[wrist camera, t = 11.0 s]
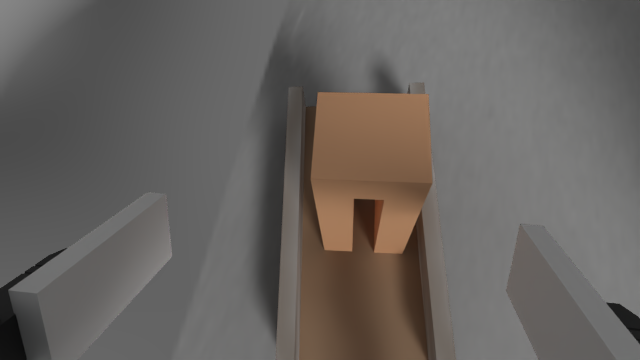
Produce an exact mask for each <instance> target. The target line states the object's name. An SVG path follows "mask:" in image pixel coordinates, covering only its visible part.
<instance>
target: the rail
mask: <svg viewBox="0 0 640 360" xmlns="http://www.w3.org/2000/svg"><path fill="white" fill-rule="evenodd" d="M407 94H425V88H424V83H409V88H408V92H407ZM316 108H317V106H315V107H306V105H305V99H304V92H303V87H289V88H288V109H287V130H286V151H285V172H284V193H283V214H282V235H281V257H280V278H279V299H278V320H277V341H276V360H456V356H455V347H454V339H453V330H452V321H451V313H450V304H449V295H448V287H447V278H446V269H445V261H444V252H443V243H442V235H441V226H440V218H439V209H438V200H437V192H436V183H435V174H434V166H433V157H432V148H431V160H432V182H433V183H432V186H431V188H430V190H429V193H428V195H427V197H426V200H425V202H424V204H423V207H422V209H421V211H420V214H419V216H418V218H417V221H416V223H415V225H414V228H413V230H412V232H411V235H410V237H409V239H408V242H407V244H406V246H405V249H404V251H403V253H402V254H394V253H374V219H375V200H374V199H354V216H353V243H352V251H333V250H324V245H323V240H322V235H321V230H320V225H319V220H318V214H317V209H316V204H315V199H314V194H313V189H312V184H311V168H312V156H313V144H314V132H315V120H316Z"/></svg>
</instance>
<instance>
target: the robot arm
mask: <svg viewBox="0 0 640 360" xmlns="http://www.w3.org/2000/svg"><path fill="white" fill-rule="evenodd" d="M171 257H172V251H171V242H170V230H169V220H168V209H167V199H166V194H162V193H150V192H147V193H146V194H144V195H143V196H141V197H140V198H138V199H137V200H136V201H134V202H133V203H132V204H130V205H129V206H127V207H126V208H125V209H123V210H121V211H120V212H119V213H117V214H116V215H114V216H113V217H111V218H110V219H109V220H107V221H106V222H104V223H103V224H102V225H100V226H99V227H97V228H96V229H95V230H93V231H92V232H90V233H89V234H87V235H86V236H84V237H83V238H82V239H80V240H79V241H77V242H76V243H74V244H73V245H72V246H70V247H69V248H65V249H63V250H61V251H58V252H56V253H53V254H51V255H49V256H47V257H46V258H44V259H43V260H42V261H40V262H38V263H37V264H36V265H35V266H33V267H31V268H30V269H28V270H27V271H25V273H24V274H21V275H20V276H18V277H16V278H15V279H14V280H12V281H11V282H9V283H8V284H6V285H5V286H3V287H2V288H0V360H78V359H79V357H80V356H81V355H82V354H83V353H84V352H85V351H86V350H87V349H88V348H89V347H90V346H91V344H92V343H93V342H94V341H95V340H96V339H97V338H98V337H99V336H100V335H101V333H102V332H103V331H104V330H105V329H106V328H107V327H108V326H109V325H110V324H111V323H112V321H113V320H114V319H115V318H116V317H117V316H118V315H119V314H120V313H121V312H122V311H123V309H124V308H125V307H126V306H127V305H128V304H129V303H130V302H131V301H132V300H133V299H134V298H135V296H136V295H137V294H138V293H139V292H140V291H141V290H142V289H143V288H144V287H145V285H146V284H147V283H148V282H149V281H150V280H151V279H152V278H153V277H154V276H155V275H156V273H157V272H158V271H159V270H160V269H161V268H162V267H163V266H164V265H165V264H166V262H167V261H168V260H169V259H170V258H171ZM506 292H507V294H508V296H509V298H510V300H511V302H512V304H513V306H514V309H515V311H516V313H517V315H518V317H519V319H520V321H521V323H522V325H523V328H524V330H525V332H526V334H527V336H528V338H529V340H530V342H531V344H532V347H533V349H534V351H535V353H536V355H537V357H538V359H539V360H640V318H639V317H638V316H636V315H635V314H633V313H632V312H630V311H629V310H628V309H626V308H625V307H623V306H622V305H620V304H615V303H606V302H605V301H604V300H603V299H602V297H601V296H600V295H599V294H598V292H597V291H596V290H595V289H594V288H593V286H592V285H591V284H590V283H589V281H588V280H587V279H586V278H585V277H584V275H583V274H582V273H581V272H580V270H579V269H578V268H577V267H576V265H575V264H574V263H573V262H572V261H571V259H570V258H569V257H568V256H567V254H566V253H565V252H564V251H563V250H562V248H561V247H560V246H559V245H558V243H557V242H556V241H555V240H554V238H553V237H552V236H551V235H550V234H549V232H548V231H547V230H546V229H545V227H544V226H539V225H527V224H520V228H519V232H518V237H517V242H516V246H515V251H514V256H513V261H512V265H511V270H510V275H509V279H508V284H507V289H506Z"/></svg>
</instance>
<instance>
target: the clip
mask: <svg viewBox="0 0 640 360" xmlns="http://www.w3.org/2000/svg"><path fill="white" fill-rule="evenodd" d="M432 183H433V182H432V160H431V138H430V117H429V95H428V94H394V93H338V92H318V96H317V108H316V120H315V132H314V144H313V156H312V168H311V184H312V189H313V194H314V199H315V204H316V209H317V214H318V220H319V225H320V230H321V235H322V240H323V245H324V250H333V251H352V243H353V216H354V199H374V200H375V219H374V253H394V254H402V253H403V251H404V249H405V246H406V244H407V242H408V239H409V237H410V235H411V232H412V230H413V228H414V225H415V223H416V221H417V218H418V216H419V214H420V211H421V209H422V207H423V204H424V202H425V200H426V197H427V195H428V193H429V190H430V188H431V186H432Z"/></svg>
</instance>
